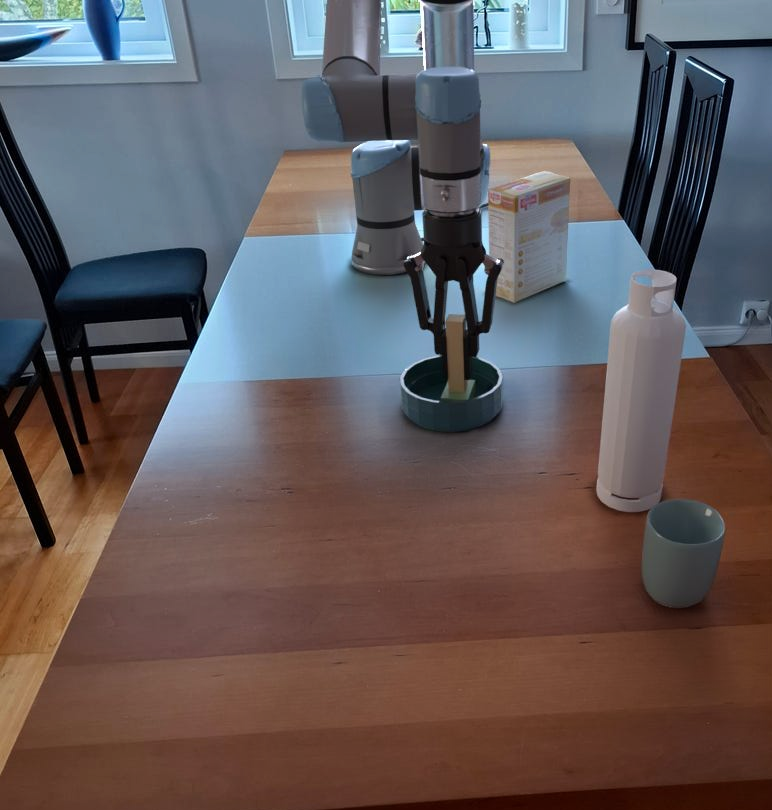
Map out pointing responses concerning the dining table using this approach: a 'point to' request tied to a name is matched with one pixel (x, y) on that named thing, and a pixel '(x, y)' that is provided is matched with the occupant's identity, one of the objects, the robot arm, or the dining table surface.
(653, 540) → the cup
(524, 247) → the coffeecake box
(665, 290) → the bottle
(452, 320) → the brush
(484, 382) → the bowl
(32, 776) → the dining table surface
